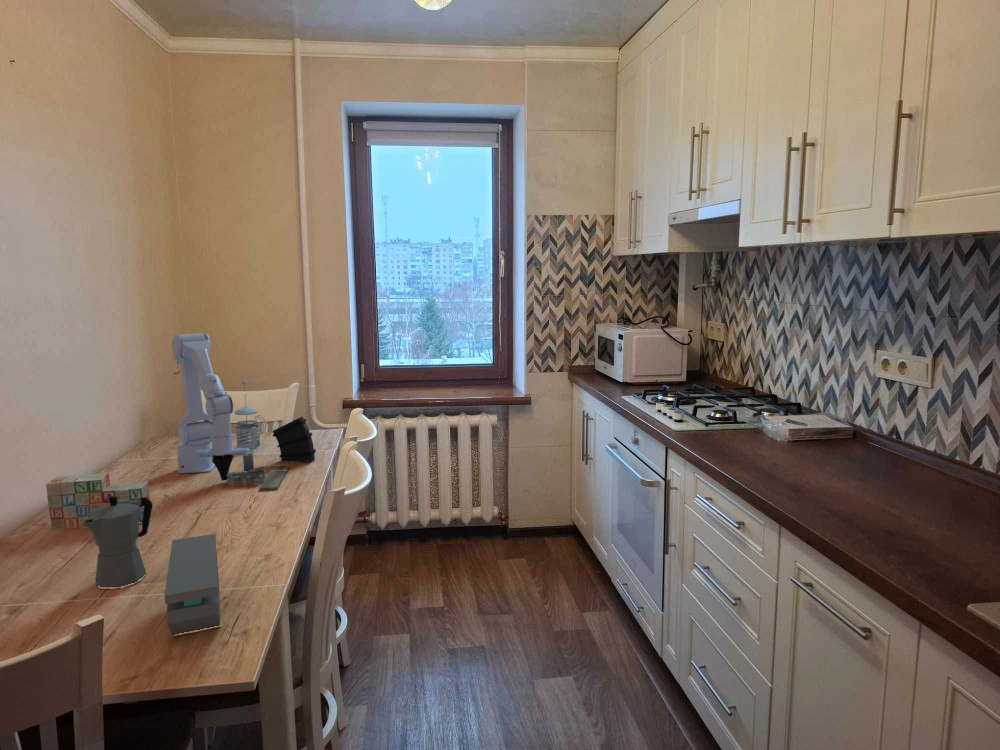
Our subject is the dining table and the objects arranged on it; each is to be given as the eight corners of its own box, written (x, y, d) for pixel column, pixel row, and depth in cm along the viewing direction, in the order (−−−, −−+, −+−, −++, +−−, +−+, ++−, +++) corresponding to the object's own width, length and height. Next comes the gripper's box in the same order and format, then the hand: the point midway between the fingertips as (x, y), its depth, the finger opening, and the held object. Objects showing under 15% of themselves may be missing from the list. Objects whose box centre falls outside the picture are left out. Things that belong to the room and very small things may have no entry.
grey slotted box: (176, 592, 134) (172, 540, 132) (219, 584, 137) (215, 533, 135) (170, 657, 111) (164, 595, 109) (221, 646, 114) (216, 586, 112)
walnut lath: (259, 490, 195) (259, 487, 195) (274, 467, 219) (274, 464, 218) (277, 489, 196) (277, 486, 196) (290, 466, 219) (290, 463, 219)
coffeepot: (109, 598, 131) (99, 510, 128) (75, 590, 135) (65, 504, 132) (173, 566, 145) (166, 486, 143) (141, 559, 149) (133, 481, 146)
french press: (243, 444, 248) (238, 377, 244) (272, 445, 246) (268, 378, 242) (228, 451, 238) (223, 382, 234) (259, 452, 237) (255, 382, 233)
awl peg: (243, 472, 214) (241, 450, 213) (245, 469, 217) (243, 448, 216) (252, 471, 214) (251, 450, 213) (254, 468, 217) (253, 447, 216)
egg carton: (267, 478, 208) (267, 465, 207) (261, 486, 200) (261, 473, 200) (231, 479, 207) (231, 467, 206) (224, 487, 199) (223, 474, 199)
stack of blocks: (151, 514, 177) (147, 469, 175) (145, 523, 171) (140, 476, 169) (61, 522, 172) (55, 475, 170) (50, 531, 166) (45, 483, 164)
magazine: (320, 458, 223) (299, 417, 222) (287, 473, 225) (266, 434, 224) (324, 455, 227) (304, 415, 225) (291, 470, 229) (271, 431, 228)
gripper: (191, 439, 196) (195, 484, 198) (243, 437, 198) (246, 482, 200) (198, 434, 203) (202, 477, 205) (248, 432, 205) (251, 475, 207)
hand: (224, 479), depth 203 cm, fingers closed
